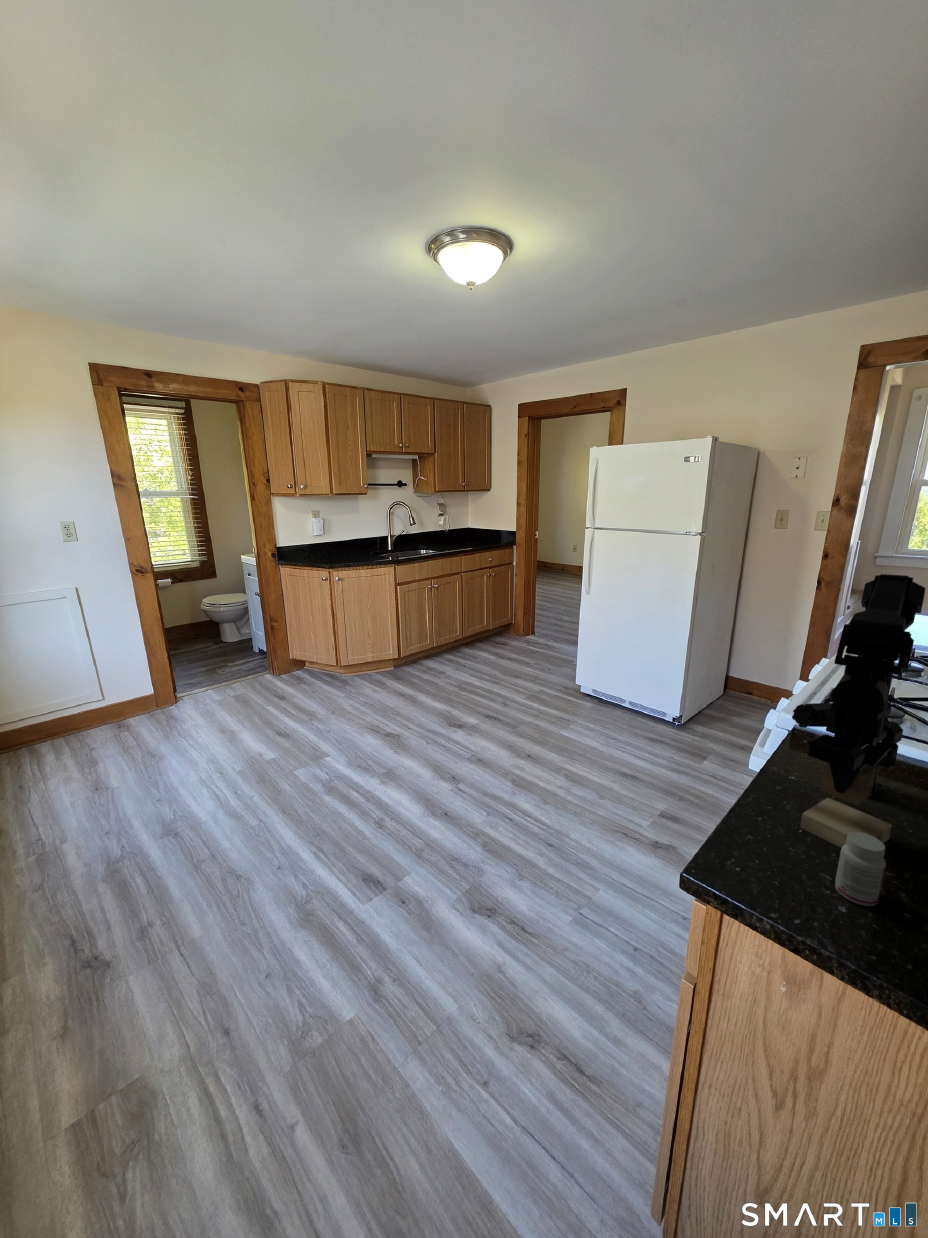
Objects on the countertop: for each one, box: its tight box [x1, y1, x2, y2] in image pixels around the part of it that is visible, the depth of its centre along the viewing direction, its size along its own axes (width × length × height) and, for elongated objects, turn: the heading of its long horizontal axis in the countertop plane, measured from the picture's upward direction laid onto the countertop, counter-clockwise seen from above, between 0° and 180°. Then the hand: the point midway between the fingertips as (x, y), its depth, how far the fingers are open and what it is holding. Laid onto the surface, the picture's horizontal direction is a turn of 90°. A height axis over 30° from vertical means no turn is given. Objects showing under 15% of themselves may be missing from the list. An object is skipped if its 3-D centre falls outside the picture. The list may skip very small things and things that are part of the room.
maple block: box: [799, 797, 893, 848], centre depth 79 cm, size 9×9×3 cm
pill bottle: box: [834, 832, 887, 907], centre depth 66 cm, size 5×5×8 cm
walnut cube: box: [820, 762, 876, 806], centre depth 78 cm, size 5×5×5 cm
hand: (847, 787), depth 78 cm, fingers closed on walnut cube, 5 cm apart
